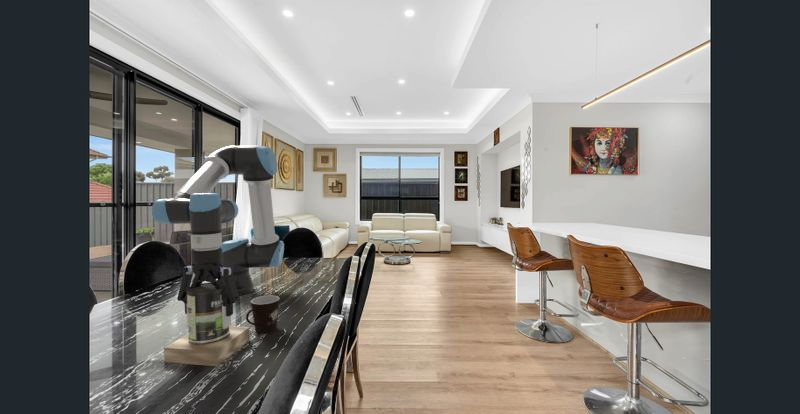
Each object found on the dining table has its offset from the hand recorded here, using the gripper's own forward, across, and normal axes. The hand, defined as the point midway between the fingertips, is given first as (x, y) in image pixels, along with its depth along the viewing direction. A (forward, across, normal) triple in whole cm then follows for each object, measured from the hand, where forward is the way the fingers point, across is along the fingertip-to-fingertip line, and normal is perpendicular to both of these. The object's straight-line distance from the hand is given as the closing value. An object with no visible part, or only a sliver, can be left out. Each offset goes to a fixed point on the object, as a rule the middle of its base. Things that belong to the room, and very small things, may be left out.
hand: (209, 325), depth 94 cm
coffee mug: (+7, +8, +14) cm, 17 cm away
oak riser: (+7, 0, 0) cm, 7 cm away
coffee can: (+3, 0, 0) cm, 3 cm away
